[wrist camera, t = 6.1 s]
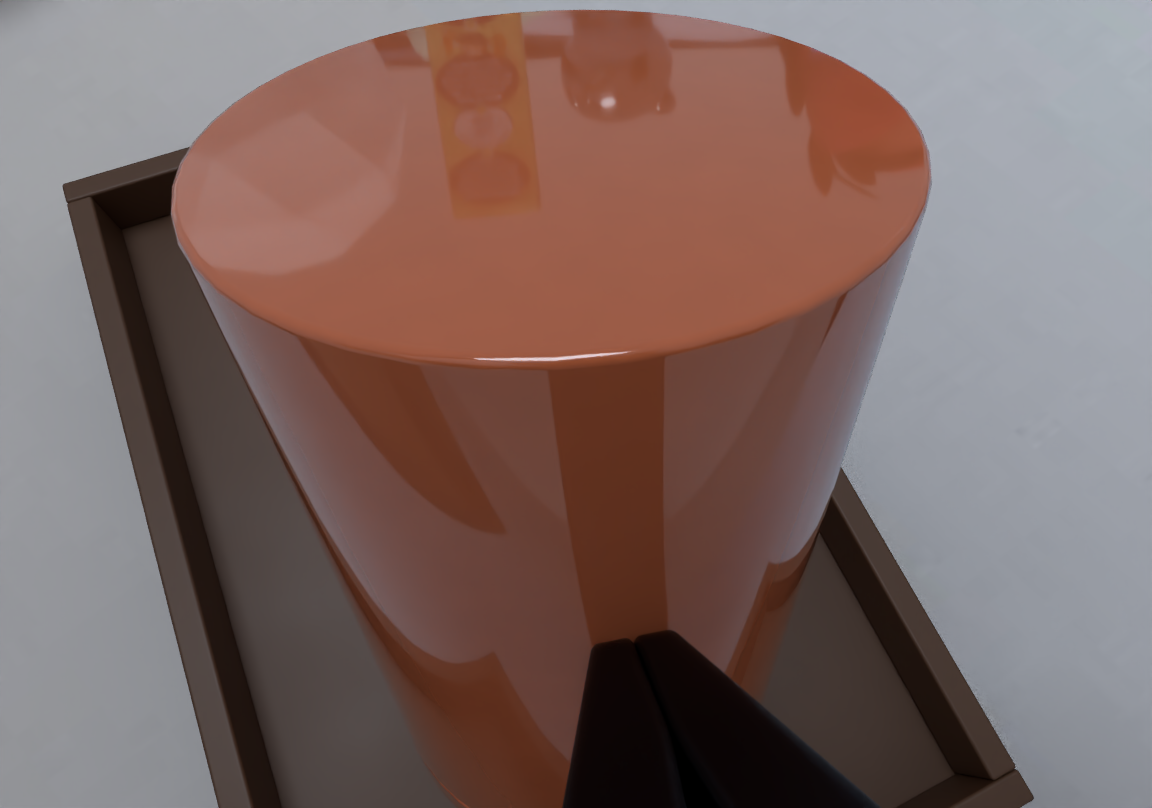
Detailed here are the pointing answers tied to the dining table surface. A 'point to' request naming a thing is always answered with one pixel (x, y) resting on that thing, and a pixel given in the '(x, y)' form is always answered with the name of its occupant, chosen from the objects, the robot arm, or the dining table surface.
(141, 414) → the walnut tray
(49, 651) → the dining table surface
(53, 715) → the dining table surface
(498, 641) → the orange canister
